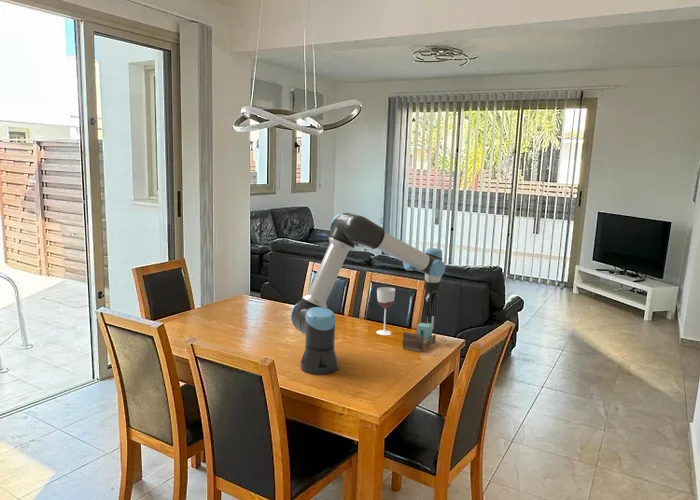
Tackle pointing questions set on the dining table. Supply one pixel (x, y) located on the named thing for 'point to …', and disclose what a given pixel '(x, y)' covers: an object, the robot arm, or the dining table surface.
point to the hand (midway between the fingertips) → (429, 329)
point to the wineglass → (385, 303)
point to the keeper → (424, 330)
